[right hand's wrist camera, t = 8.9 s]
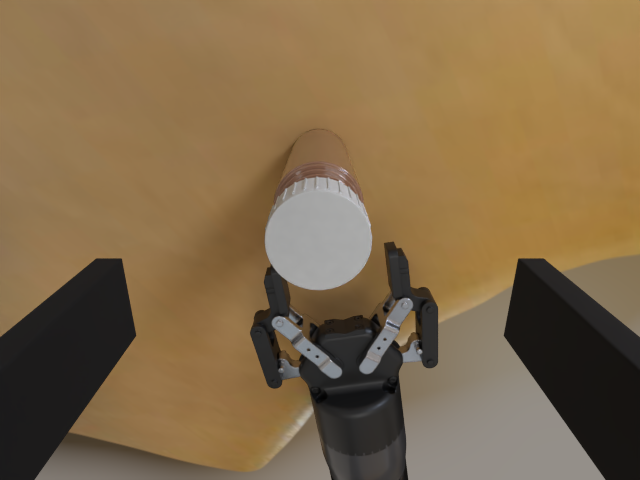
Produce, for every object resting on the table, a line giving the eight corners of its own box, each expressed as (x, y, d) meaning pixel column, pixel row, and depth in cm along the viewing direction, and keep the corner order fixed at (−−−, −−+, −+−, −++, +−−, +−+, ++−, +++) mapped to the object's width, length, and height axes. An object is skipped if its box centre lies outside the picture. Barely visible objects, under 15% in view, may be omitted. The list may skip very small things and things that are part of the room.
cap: (371, 261, 20) (377, 284, 18) (279, 273, 20) (274, 297, 18) (361, 169, 19) (367, 182, 16) (261, 183, 19) (253, 197, 17)
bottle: (350, 181, 36) (379, 282, 18) (295, 189, 36) (273, 295, 19) (344, 125, 34) (368, 176, 17) (286, 133, 34) (251, 192, 17)
